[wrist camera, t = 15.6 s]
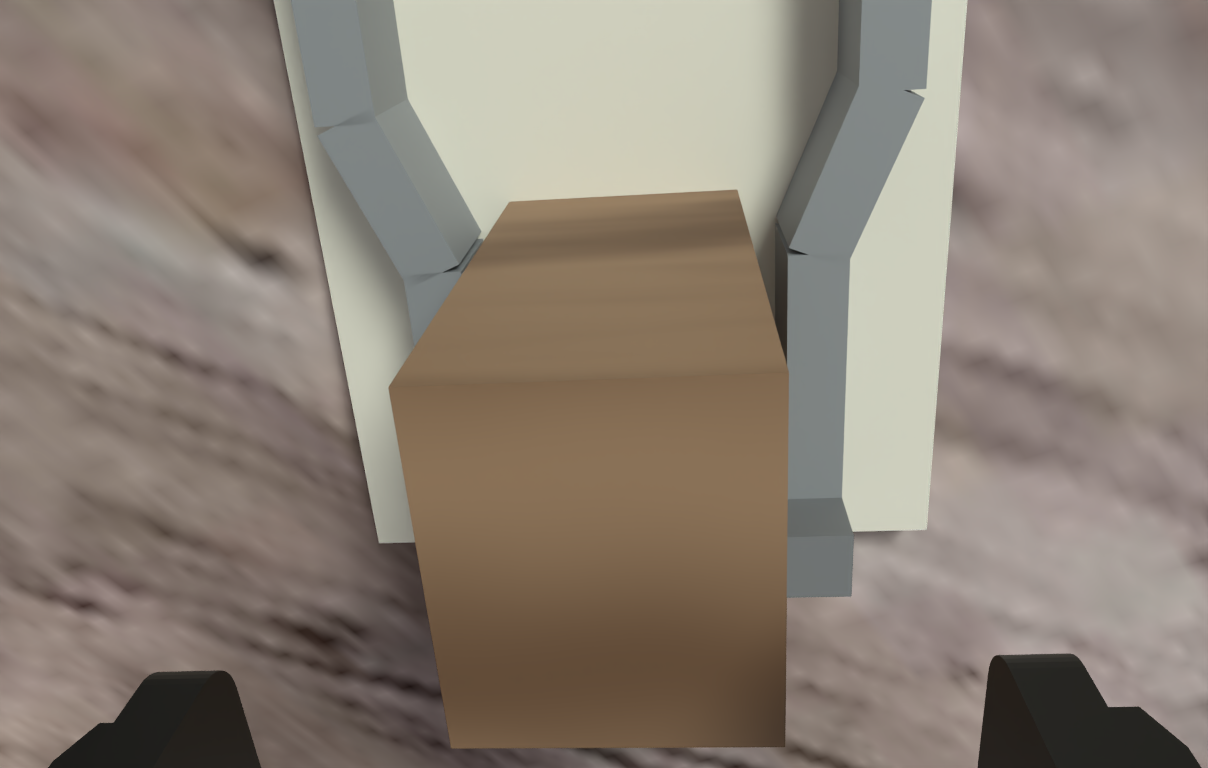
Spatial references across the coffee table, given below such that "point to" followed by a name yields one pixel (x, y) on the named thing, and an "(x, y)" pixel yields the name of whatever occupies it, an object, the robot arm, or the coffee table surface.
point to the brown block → (604, 480)
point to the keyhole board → (654, 166)
